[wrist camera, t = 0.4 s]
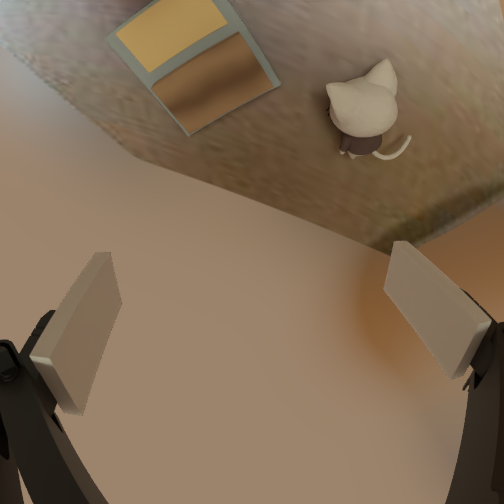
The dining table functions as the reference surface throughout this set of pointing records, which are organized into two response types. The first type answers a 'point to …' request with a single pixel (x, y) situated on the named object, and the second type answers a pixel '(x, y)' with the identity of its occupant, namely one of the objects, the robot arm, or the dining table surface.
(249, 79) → the walnut seat
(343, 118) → the toy
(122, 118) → the dining table surface
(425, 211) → the dining table surface
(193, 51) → the board
